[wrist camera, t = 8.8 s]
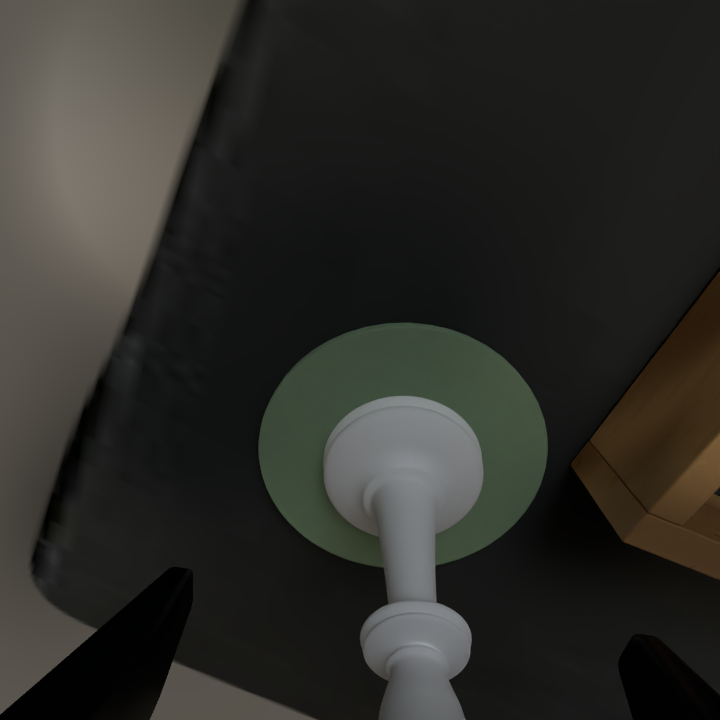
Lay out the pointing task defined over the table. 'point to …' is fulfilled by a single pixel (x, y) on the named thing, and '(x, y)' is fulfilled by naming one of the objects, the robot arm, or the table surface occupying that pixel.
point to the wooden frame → (666, 447)
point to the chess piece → (408, 540)
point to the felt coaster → (402, 378)
